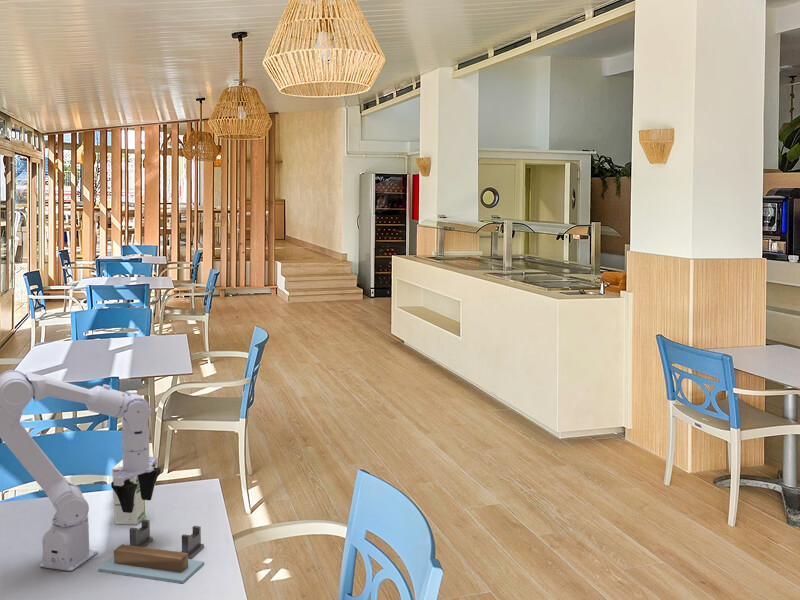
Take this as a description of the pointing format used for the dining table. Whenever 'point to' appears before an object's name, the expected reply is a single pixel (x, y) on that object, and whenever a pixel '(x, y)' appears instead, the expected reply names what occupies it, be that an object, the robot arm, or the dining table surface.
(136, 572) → the mat
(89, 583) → the dining table surface
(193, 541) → the bracket
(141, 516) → the syrup box
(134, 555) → the rail
